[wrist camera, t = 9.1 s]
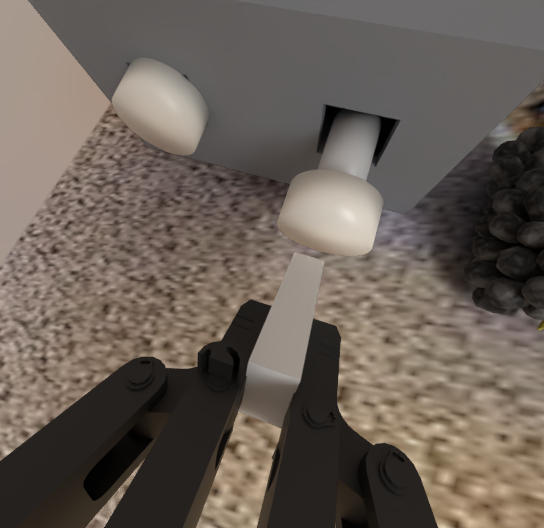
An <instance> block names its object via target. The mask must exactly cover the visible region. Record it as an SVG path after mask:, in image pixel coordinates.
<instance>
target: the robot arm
mask: <svg viewBox="0 0 544 528" xmlns="http://www.w3.org/2000/svg"><path fill="white" fill-rule="evenodd" d="M324 262H325V261H324V260H320V259H317V258H313V257H310V256H306V255H303V254H299V253H296V252H294V255H293V257H292V259H291V262H290V264H289V267H288V269H287V271H286V274H285V276H284V278H283V281H282V283H281V285H280V288H279V290H278V293H277V295H276V297H275V300H274V302H273V304H272V306H269V305H266V304H263V303H260V302H257V301H254V300H249V301H248V302H246V303H245V304H243V305H242V306H241V307H240V309H239V311H238V312H237V314H236V317H235V318H234V319H233V321H232V323H231V325H230V326H229V328H228V330H227V332H226V333H225V335H224V337H223V339H222V340H221V341H218V342H212V343H210V344H208V345H206V346H204V347H203V348H202V349H201V350H200V351H199V352H198V367H194V368H189V369H175V368H165V365H164V364H163V363H162V362H161V360H159V359H156V358H154V357H140V358H136V359H133V360H131V361H129V362H128V363H126V364H124V365H123V366H122V367H120V368H119V369H118V370H117V371H115V372H114V373H113V374H111V375H110V376H109V377H108V378H106V379H105V380H104V381H102V382H101V383H100V384H99V385H97V386H96V387H95V388H93V389H92V390H91V391H90V392H88V393H87V394H86V395H84V396H83V397H82V398H81V399H79V400H78V401H77V402H75V403H74V404H73V405H72V406H70V407H69V408H68V409H66V410H65V411H64V412H63V413H61V414H60V415H59V416H57V417H56V418H55V419H54V420H52V421H51V422H50V423H48V424H47V425H46V426H45V427H43V428H42V429H41V430H39V431H38V432H37V433H36V434H34V435H33V436H32V437H30V438H29V439H28V440H27V441H25V442H24V443H23V444H22V445H20V446H19V447H18V448H16V449H15V450H14V451H13V452H11V453H10V454H9V455H7V456H6V457H5V458H4V459H2V460H1V461H0V528H85V527H86V526H87V525H88V523H89V522H90V521H91V520H92V519H93V518H94V517H95V515H96V514H97V513H98V512H99V511H100V510H101V508H102V507H103V506H104V505H105V504H106V503H107V501H108V500H109V499H110V498H111V497H112V496H113V495H114V493H115V492H116V491H117V490H118V489H119V488H120V486H121V485H122V484H123V483H124V482H125V481H126V479H127V478H128V477H129V476H130V475H131V474H132V473H133V471H134V470H135V469H136V468H137V467H138V466H139V464H140V463H141V462H142V461H143V460H144V459H145V460H144V462H143V463H142V465H141V467H140V468H139V470H138V472H137V474H136V475H135V477H134V479H133V480H132V482H131V484H130V485H129V487H128V489H127V490H126V492H125V494H124V495H123V497H122V499H121V500H120V502H119V504H118V505H117V507H116V509H115V510H114V512H113V514H112V515H111V517H110V519H109V521H108V522H107V524H106V526H105V527H104V528H196V526H197V523H198V521H199V518H200V515H201V513H202V510H203V507H204V505H205V502H206V499H207V497H208V494H209V492H210V489H211V486H212V484H213V481H214V478H215V476H216V473H217V470H218V468H219V465H220V462H221V460H222V457H223V455H224V452H225V449H226V447H227V444H228V441H229V439H230V436H231V433H232V431H233V425H234V421H235V419H236V416H237V414H238V411H239V412H241V413H244V414H246V415H249V416H251V417H254V418H257V419H259V420H262V421H264V422H267V423H269V424H272V425H275V426H277V427H280V428H282V430H281V434H280V438H279V442H278V444H277V447H276V449H275V452H274V454H273V456H272V459H273V462H272V467H271V471H270V475H269V479H268V483H267V488H266V492H265V496H264V500H263V504H262V509H261V513H260V517H259V521H258V525H257V528H335V523H336V528H438V526H437V523H436V521H435V518H434V515H433V512H432V509H431V507H430V504H429V501H428V498H427V495H426V492H425V490H424V487H423V484H422V481H421V478H420V476H419V474H418V472H417V470H416V468H415V466H414V464H413V463H412V462H411V461H410V459H409V458H408V457H407V456H406V455H405V454H404V453H403V452H402V451H400V450H399V449H398V448H396V447H395V446H392V445H389V444H386V443H380V444H375V445H372V444H371V443H370V442H368V441H367V440H366V439H364V438H363V437H362V436H360V435H359V434H358V433H356V432H355V431H354V430H353V429H352V428H351V427H349V426H348V424H347V423H346V422H345V420H344V419H343V417H342V416H341V414H340V412H339V408H338V405H337V388H338V373H339V358H340V343H341V337H340V334H339V332H338V329H337V327H336V326H334V325H331V324H328V323H325V322H322V321H319V320H316V319H313V317H314V312H315V307H316V302H317V297H318V292H319V287H320V282H321V277H322V272H323V267H324ZM146 456H147V457H146Z"/></svg>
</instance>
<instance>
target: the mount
mask: <svg viewBox="0 0 544 528" xmlns="http://www.w3.org/2000/svg"><path fill="white" fill-rule="evenodd" d="M28 1H29V2H30V3H31V4H32V5H33V7H34V8H35V9H36V11H37V12H38V13H39V14H40V15H41V17H42V18H43V19H44V20H45V22H46V23H47V24H48V25H49V26H50V28H51V29H52V30H53V32H54V33H55V34H56V35H57V36H58V38H59V39H60V40H61V41H62V42H63V44H64V45H65V46H66V48H67V49H68V50H69V51H70V52H71V54H72V55H73V56H74V57H75V59H76V60H77V61H78V62H79V64H80V65H81V66H82V67H83V68H84V69H85V71H86V72H87V73H88V75H89V76H90V77H91V78H92V79H93V81H94V82H95V83H96V84H97V86H98V87H99V88H100V89H101V91H102V92H103V93H104V94H105V96H106V97H107V98H108V99H109V100H110V102H111V103H112V97H113V95H114V93H115V91H116V89H117V88H118V86H119V84H120V82H121V80H122V78H123V76H124V75H125V73H126V71H127V69H128V67H129V65H130V63H131V62H132V61H133V60H135V59H137V58H151V59H155V60H157V61H160V62H162V63H164V64H167V65H168V66H170V67H172V68H173V69H175V70H176V71H178V72H179V73H181V74H184V75H187V78H188V80H189V81H190V82H191V83H192V84H193V85H194V86H195V88H196V89H197V90H198V91H199V93H200V94H201V95H202V97H203V99H204V100H205V102H206V104H207V107H208V110H209V120H208V122H207V125H206V127H205V129H204V132H203V134H202V136H201V138H200V141H199V143H198V145H197V147H196V150H195V152H194V153H192V154H191V155H179V156H183V157H187V158H191V159H194V160H198V161H202V162H206V163H210V164H214V165H218V166H221V167H225V168H229V169H233V170H237V171H241V172H244V173H248V174H252V175H256V176H260V177H264V178H268V179H271V180H275V181H279V182H283V183H287V184H290V183H291V181H292V179H293V178H294V177H295V176H297V175H298V174H300V173H303V172H306V171H310V170H317V169H318V166H319V163H320V160H321V157H322V154H323V151H324V148H325V145H326V142H327V139H328V136H329V133H330V130H331V127H332V123H333V120H334V117H335V115H336V114H337V113H338V112H339V111H340V110H341V109H343V108H345V109H350V110H355V111H360V112H364V113H369V114H374V115H378V116H379V117H380V119H381V122H382V126H381V130H380V133H379V137H378V141H377V144H376V148H375V151H374V155H373V158H372V162H371V165H370V169H369V172H368V176H367V180H366V182H368V183H370V184H371V185H372V186H374V187H375V188H376V189H377V190H378V191H379V193H380V194H381V196H382V198H383V201H384V205H383V209H387V210H391V211H395V212H399V213H402V214H407V213H408V212H409V211H410V210H411V209H412V208H413V207H414V206H415V205H416V204H417V203H418V202H419V201H420V200H421V199H422V198H423V197H424V196H425V195H426V194H427V193H428V192H429V191H431V190H432V189H433V188H434V187H435V186H436V185H437V184H438V183H439V182H440V181H441V180H442V179H443V178H444V177H445V176H446V175H447V174H448V173H449V172H450V171H451V170H452V169H453V168H454V167H455V166H456V165H457V164H458V163H459V162H460V161H461V160H462V159H463V158H465V157H466V156H467V155H468V154H469V153H470V152H471V151H472V150H473V149H474V148H475V147H476V146H477V145H478V144H479V143H480V142H481V141H482V140H483V139H484V138H485V137H486V136H487V135H488V134H489V133H490V132H491V131H492V130H493V129H494V128H495V127H496V126H497V125H499V124H500V123H501V122H502V121H503V120H504V119H505V118H506V117H507V116H508V115H509V114H510V113H511V112H512V111H513V110H514V109H515V108H516V107H517V106H518V105H519V104H520V103H521V102H522V101H523V100H524V99H525V98H526V97H527V96H528V95H529V94H530V93H531V92H533V91H534V90H535V89H536V88H537V87H538V86H539V85H540V84H541V83H542V82H543V81H544V0H28ZM139 137H140V136H139ZM140 139H141V140H142V141H143V142H144V144H145V145H146V146H147V147H148V148H152V149H156V150H160V151H164V150H162V149H159V148H157V147H155V146H154V145H152V144H150V143H148V142H147V141H145V140H144V139H142V138H141V137H140ZM164 152H166V151H164ZM167 153H169V152H167ZM171 154H172V153H171ZM175 155H176V154H175Z"/></svg>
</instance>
